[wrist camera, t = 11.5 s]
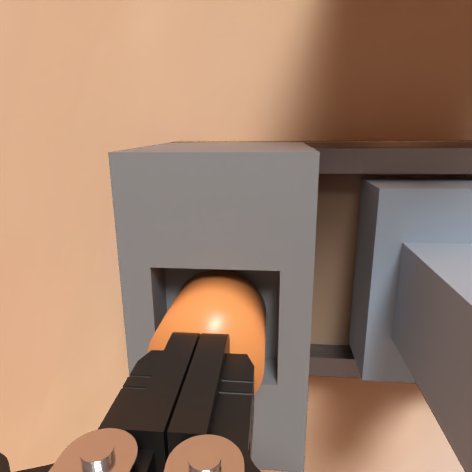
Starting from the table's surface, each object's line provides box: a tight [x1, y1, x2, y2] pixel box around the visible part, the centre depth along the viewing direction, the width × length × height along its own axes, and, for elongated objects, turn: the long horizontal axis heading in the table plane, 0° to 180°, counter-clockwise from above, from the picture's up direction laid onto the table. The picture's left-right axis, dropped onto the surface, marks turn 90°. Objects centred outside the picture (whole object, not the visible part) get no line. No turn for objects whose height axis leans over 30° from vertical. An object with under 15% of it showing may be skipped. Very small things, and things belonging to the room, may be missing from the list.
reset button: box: [148, 270, 267, 395], centre depth 12 cm, size 3×3×3 cm
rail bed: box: [171, 140, 472, 345], centre depth 17 cm, size 25×11×4 cm, turn 90°
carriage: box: [349, 178, 472, 472], centre depth 13 cm, size 5×8×10 cm, turn 0°
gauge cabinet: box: [108, 143, 320, 472], centre depth 16 cm, size 6×11×6 cm, turn 0°
